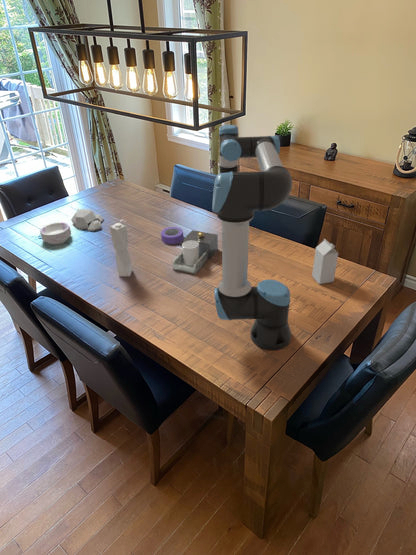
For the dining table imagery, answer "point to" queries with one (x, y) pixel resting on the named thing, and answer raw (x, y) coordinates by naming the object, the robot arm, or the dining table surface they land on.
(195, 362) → the dining table surface
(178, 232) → the tape roll
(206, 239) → the grey cabinet
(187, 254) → the white cup
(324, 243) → the white milk carton
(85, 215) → the rock
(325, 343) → the dining table surface
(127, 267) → the skyscraper
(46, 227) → the paper bowls
